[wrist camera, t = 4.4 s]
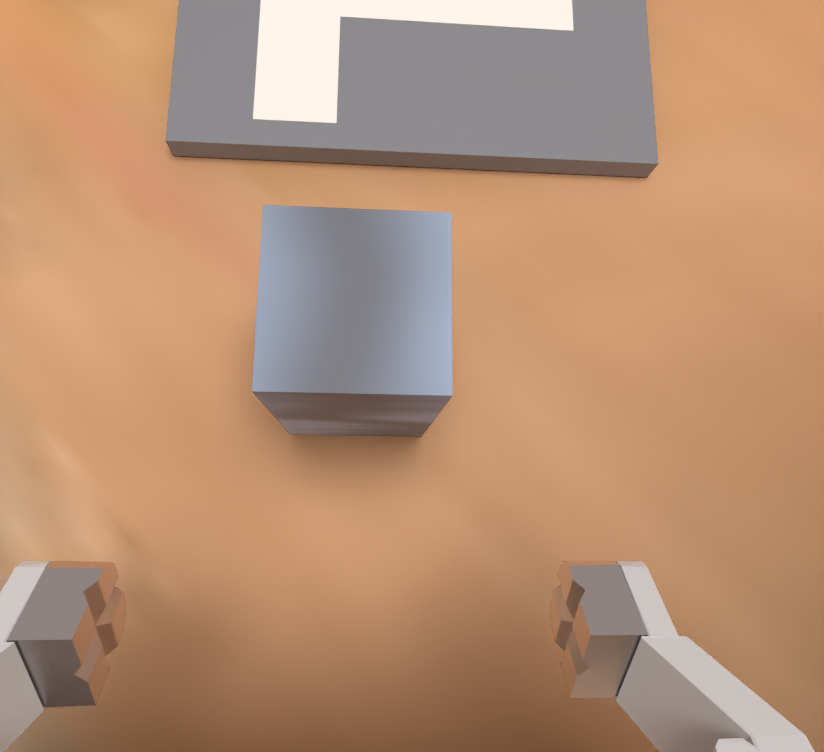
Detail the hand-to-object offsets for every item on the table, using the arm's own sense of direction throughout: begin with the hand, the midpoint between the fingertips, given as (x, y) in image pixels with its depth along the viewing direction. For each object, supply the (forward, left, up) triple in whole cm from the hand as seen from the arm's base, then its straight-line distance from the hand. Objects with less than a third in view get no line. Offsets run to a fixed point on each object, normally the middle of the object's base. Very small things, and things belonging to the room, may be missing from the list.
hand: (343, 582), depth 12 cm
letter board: (-2, -21, -10) cm, 23 cm away
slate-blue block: (0, -6, -10) cm, 12 cm away
